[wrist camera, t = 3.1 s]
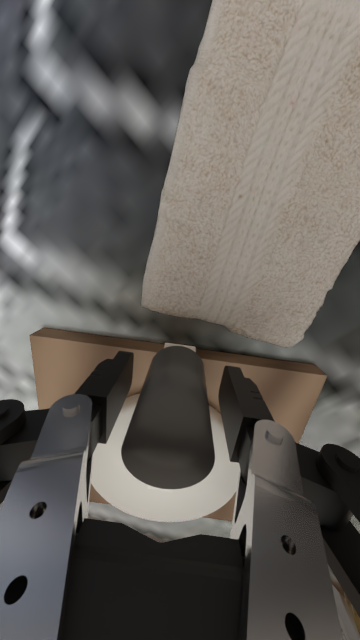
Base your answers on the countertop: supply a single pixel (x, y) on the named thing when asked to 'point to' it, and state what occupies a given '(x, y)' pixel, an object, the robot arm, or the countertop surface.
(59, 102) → the countertop surface
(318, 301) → the washcloth
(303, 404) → the dial board
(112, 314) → the countertop surface
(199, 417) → the dial
